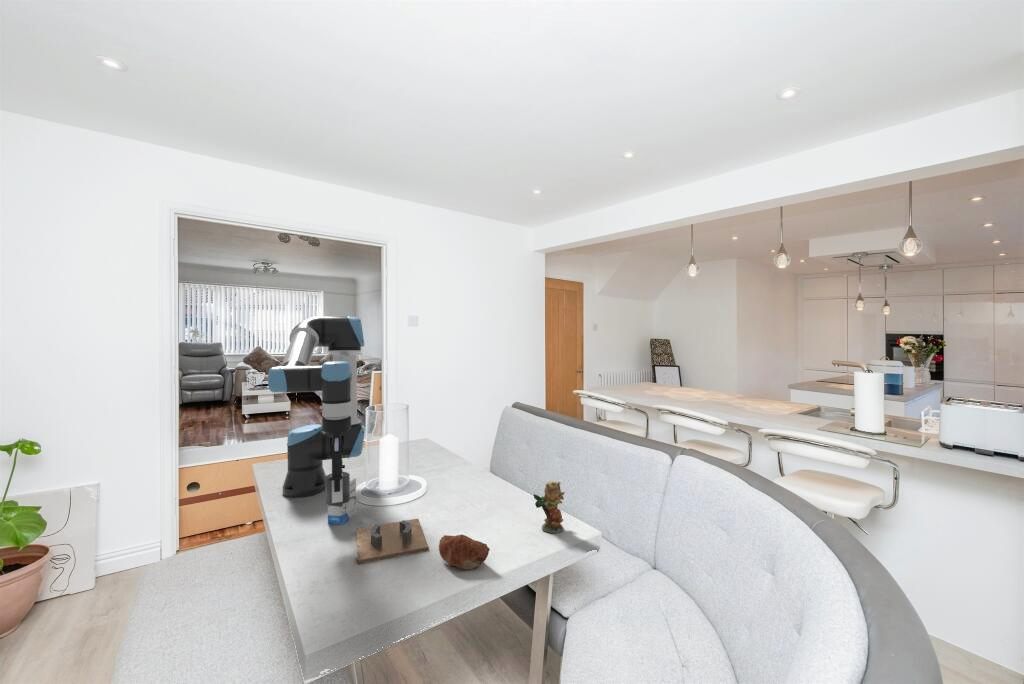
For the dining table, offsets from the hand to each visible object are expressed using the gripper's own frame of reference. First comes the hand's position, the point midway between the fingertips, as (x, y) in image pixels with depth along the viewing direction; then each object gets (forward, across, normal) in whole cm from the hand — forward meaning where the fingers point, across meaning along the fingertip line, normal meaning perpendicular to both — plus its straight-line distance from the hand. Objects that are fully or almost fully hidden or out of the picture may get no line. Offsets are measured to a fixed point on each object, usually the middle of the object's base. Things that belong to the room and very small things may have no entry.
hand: (337, 496), depth 117 cm
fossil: (+12, +25, +30) cm, 41 cm away
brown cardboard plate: (+12, +7, +14) cm, 20 cm away
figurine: (+12, +17, +59) cm, 62 cm away
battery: (+1, 0, 0) cm, 1 cm away
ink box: (+13, -14, +1) cm, 19 cm away
